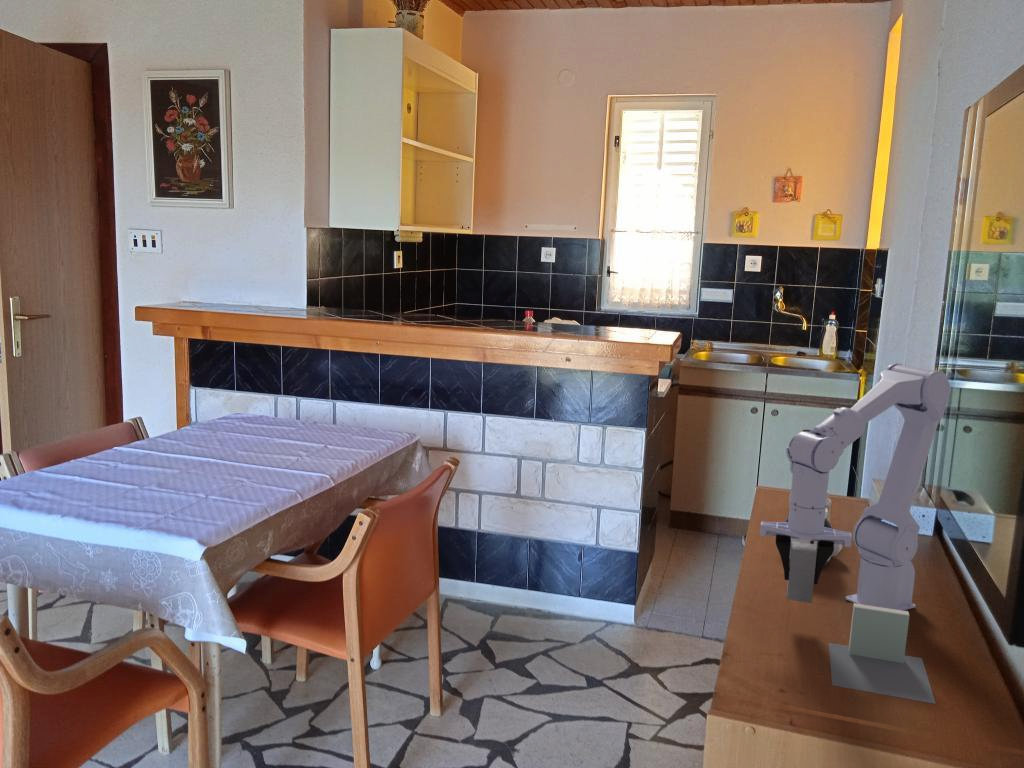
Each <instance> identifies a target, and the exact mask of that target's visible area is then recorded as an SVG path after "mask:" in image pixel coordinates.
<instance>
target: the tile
mask: <svg viewBox="0 0 1024 768" xmlns="http://www.w3.org/2000/svg"><path fill="white" fill-rule="evenodd" d="M909 622H910V613H909V611H908V610H903V611H902V610H895V609H889V608H882V607H875V606H869V605H862V604H856V603H853V606H852V616H851V623H850V624H851V625H850V633H849V643H848V646H849V654H852V655H858V656H864V657H870V658H876V659H882V660H888V661H893V662H899V663H904V656H905V655H906V647H907V639H908V638H907V637H908V631H909Z"/></svg>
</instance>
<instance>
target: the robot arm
mask: <svg viewBox="0 0 1024 768" xmlns="http://www.w3.org/2000/svg"><path fill="white" fill-rule="evenodd" d="M951 391H952V387H951V384H950V380H949V378H948V376H947V374H946V373H945V372H943V371H941V370H937V369H936V370H933V369H927V368H922V367H916V366H910V365H904V364H901V363H897V362H895V363H894V362H893V363H892V364H889V365H887V367H886V368H885V369H884V370H882V371H880V373H879V378H878V382H877V383H876V384H875V385H874V386H873V387H872V388H871V389H870V390H869V391H868V392H867V393H865V394H864V395H863V396H862V397H861V398H860V399H859V400H858V401H857V402H856V403H854V405H853V406H852V407H850V408H849V407H840V408H839V407H836V408H835V409H834V410H833V411H832V414H830V415H829V416H828V417H826V418H825V419H824V420H822V422H820V423H819V424H817V425H816V426H814V428H812V429H810V430H811V431H810V432H806V431H805V432H801V431H800V432H798V433H797V434H795V435H793V437H792V438H791V439H790V442H789V444H788V446H787V447H786V449H785V450H786V457H787V459H788V461H789V465H790V467H789V471H790V473H791V474H792V477H791V487H790V492H791V497H790V506H789V507H788V508H789V509H788V516H789V519H788V522H784V521H783V522H782V521H779V522H778V521H777V522H776V521H762V520H761V522H760V530H759V536H761V537H767V536H770V537H775V546H776V548H777V551H778V553H779V557H780V558H781V562H782V566H783V567H782V568H783V573H784V581H788V580H789V564H790V562H789V559H790V549H791V538H794V539H801V540H807V541H817V555H816V565H815V575H814V585H818V584H819V579H820V575H822V574H821V573H822V572H823V570H824V567H825V565H827V563H826V562H827V560H828V559H829V558H830V556H831V555H832V553H833V551H834V544H840V545H842V546H844V547H845V548H846V547H847V548H851V547H852V542H853V543H854V545H855V547H856V548H858V549H857V553H858V554H859V555H860V563H859V571H858V580H857V590H856V593H854V594H851V595H850V594H849V595H846V596H845V600H846V601H849V602H850V603H852V604H854V603H856V604H862V605H869V606H875V607H882V608H889V609H895V610H902V611H908V610H911V609H914V608H916V604H915V603H913V602H912V601H913V596H914V595H913V593H914V586H915V579H916V578H915V577H916V571H915V566H914V565H913V562H912V560H913V558H914V557H915V556H916V554H917V551H918V548H919V547H918V536H919V532H920V529H921V527H920V525H919V524H918V523H919V522H917V521H916V520H915V518H914V516H913V515H912V514H911V508H912V506H913V503H914V499H915V496H916V493H917V490H918V486H919V484H920V480H921V478H922V474H923V471H924V469H925V467H926V466H925V465H926V462H927V459H928V456H929V454H930V453H929V452H930V450H931V446H932V444H933V440H934V437H935V434H936V432H937V429H938V425H939V422H940V420H942V419H943V416H944V414H945V413H944V412H945V410H946V406H947V404H948V401H949V398H950V395H951ZM893 406H894V407H895V408H896V409H897V410H898V411H899V412H900V413H901V415H902V417H903V419H904V421H903V422H904V423H903V425H902V428H901V432H900V434H899V437H898V441H897V444H896V448H895V449H894V453H893V456H892V459H891V462H890V465H889V467H888V472H887V474H886V478H885V481H884V484H883V486H882V490H881V494H880V495H879V499H878V501H877V502H876V503H874V504H871V505H869V506H866V507H865V508H864V509H863V511H862V515H861V516H860V518H859V520H857V522H856V523H855V525H854V527H853V530H852V532H849V531H843V530H839V529H834V528H833V529H830V528H826V527H824V521H825V511H826V500H827V490H828V488H829V477H830V471H831V470H833V469H835V467H836V466H837V465H838V462H839V460H840V459H841V458H840V457H841V456H842V455H843V453H844V450H845V449H846V448H847V447H849V446H851V444H853V443H854V442H856V440H857V439H859V438H860V437H862V436H863V435H864V434H865V432H866V431H865V430H866V425H865V424H868V422H870V421H871V420H873V419H874V418H876V417H878V416H879V415H881V414H882V413H884V412H886V411H887V410H888V409H889V408H891V407H893ZM828 491H829V490H828ZM883 520H884V521H883ZM885 521H886V522H885ZM891 523H892V524H891ZM852 540H853V541H852ZM831 557H832V556H831ZM830 559H831V558H830Z"/></svg>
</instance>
